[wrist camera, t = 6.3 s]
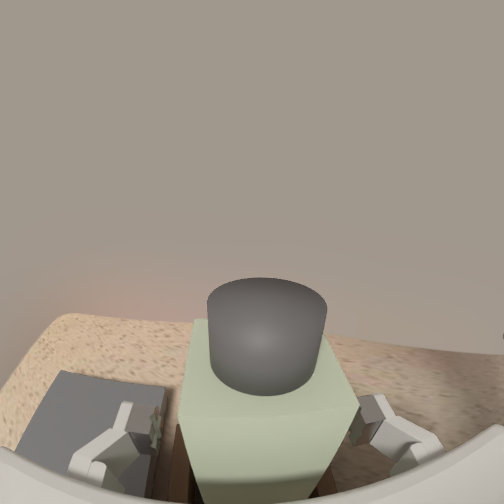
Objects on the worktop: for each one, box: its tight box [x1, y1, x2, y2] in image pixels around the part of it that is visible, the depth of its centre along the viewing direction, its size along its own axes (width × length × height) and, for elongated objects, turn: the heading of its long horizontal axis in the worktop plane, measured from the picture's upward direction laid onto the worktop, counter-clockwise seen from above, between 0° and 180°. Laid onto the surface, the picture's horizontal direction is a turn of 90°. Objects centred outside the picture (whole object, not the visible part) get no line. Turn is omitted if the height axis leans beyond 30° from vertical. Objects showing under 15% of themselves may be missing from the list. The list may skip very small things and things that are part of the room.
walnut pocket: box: [167, 424, 338, 504], centre depth 11 cm, size 9×9×3 cm
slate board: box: [15, 370, 168, 499], centre depth 10 cm, size 10×17×2 cm, turn 4°
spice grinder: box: [177, 278, 360, 504], centre depth 9 cm, size 5×5×14 cm
